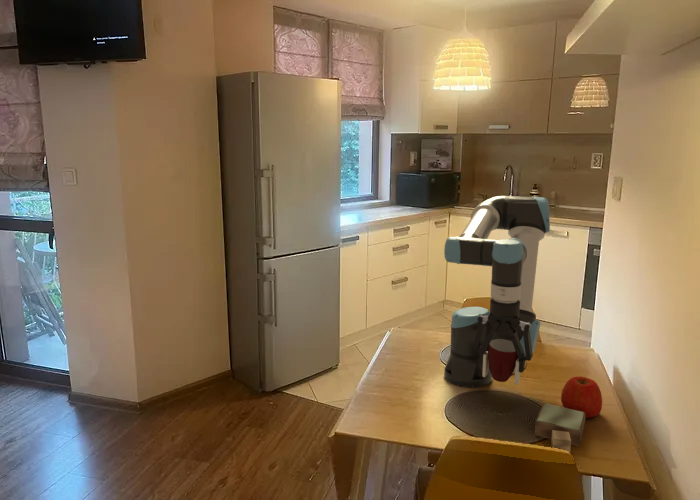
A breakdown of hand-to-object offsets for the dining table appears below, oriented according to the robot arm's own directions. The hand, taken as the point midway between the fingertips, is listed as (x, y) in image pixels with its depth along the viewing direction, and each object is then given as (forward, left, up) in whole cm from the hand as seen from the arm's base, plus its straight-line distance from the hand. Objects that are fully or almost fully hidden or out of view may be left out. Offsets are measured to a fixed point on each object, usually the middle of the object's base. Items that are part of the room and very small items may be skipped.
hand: (500, 378), depth 144 cm
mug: (0, 0, -1) cm, 1 cm away
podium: (+16, +3, -13) cm, 21 cm away
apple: (+19, +16, -13) cm, 28 cm away
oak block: (+17, -6, -13) cm, 22 cm away
